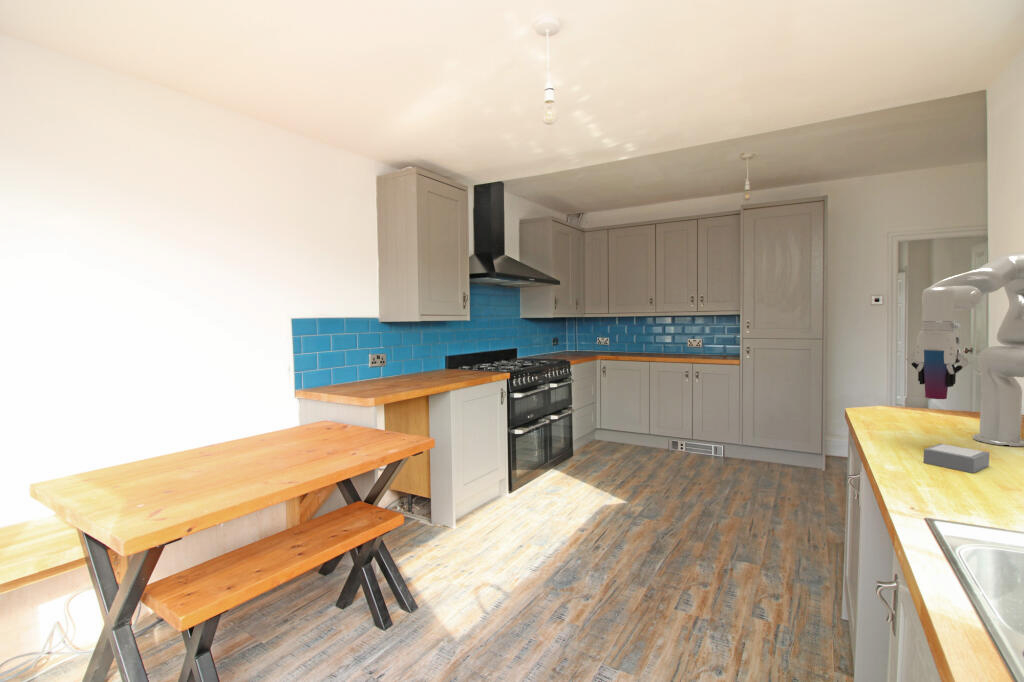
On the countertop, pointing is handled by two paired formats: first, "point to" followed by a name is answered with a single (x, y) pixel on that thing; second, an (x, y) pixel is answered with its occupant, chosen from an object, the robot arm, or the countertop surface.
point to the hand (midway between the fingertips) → (936, 384)
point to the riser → (956, 458)
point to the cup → (935, 375)
